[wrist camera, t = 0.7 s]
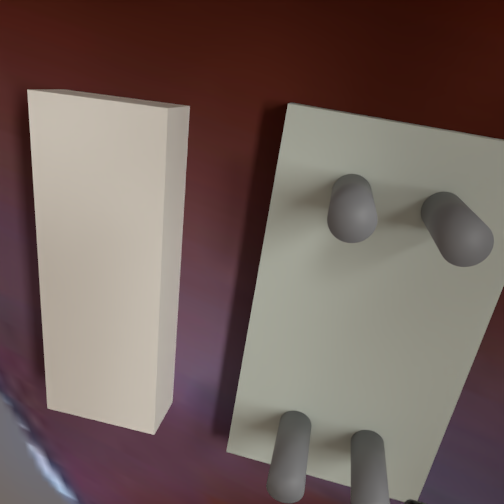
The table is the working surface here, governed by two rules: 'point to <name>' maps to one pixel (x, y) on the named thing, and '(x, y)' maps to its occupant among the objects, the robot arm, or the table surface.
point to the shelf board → (109, 251)
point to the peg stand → (367, 301)
